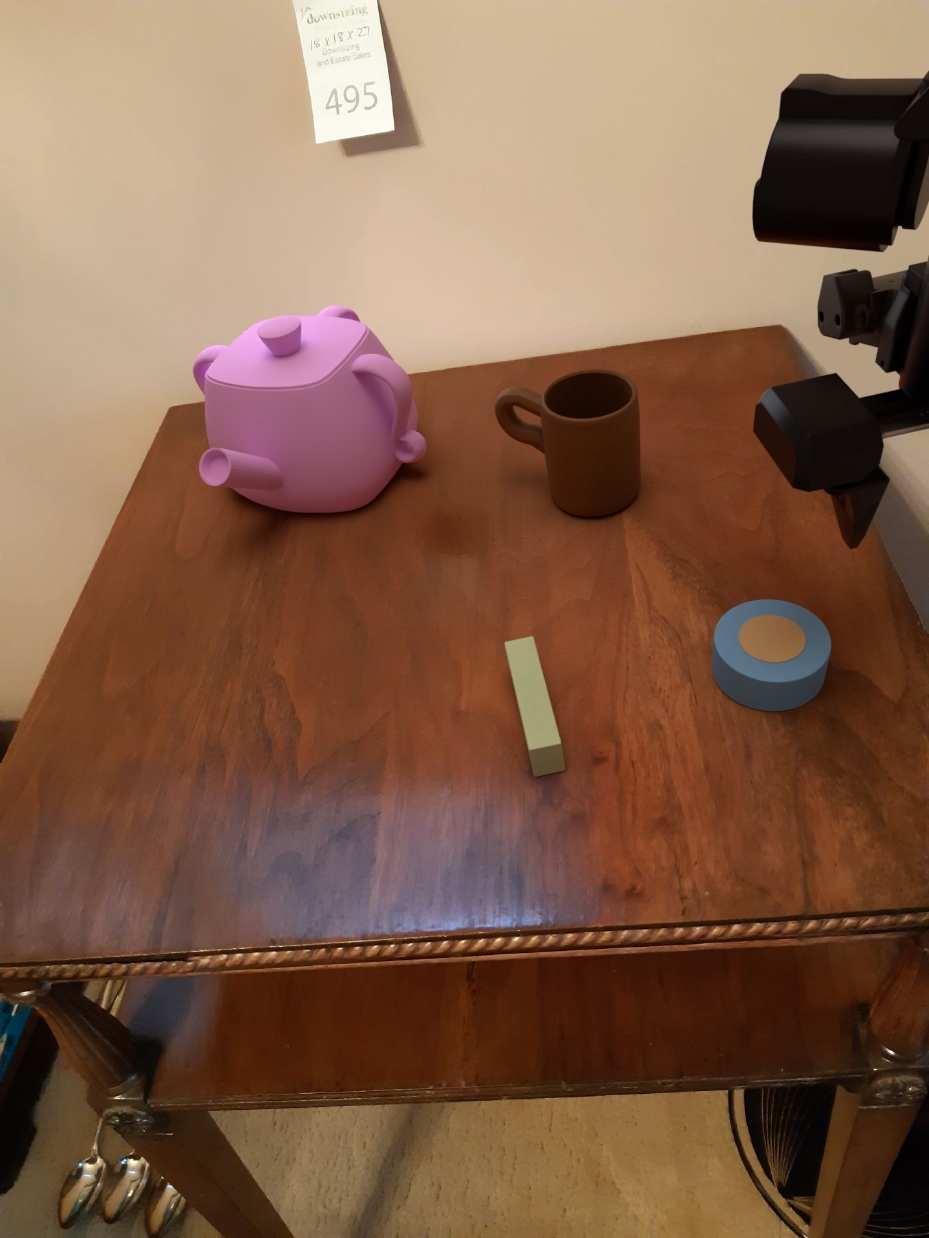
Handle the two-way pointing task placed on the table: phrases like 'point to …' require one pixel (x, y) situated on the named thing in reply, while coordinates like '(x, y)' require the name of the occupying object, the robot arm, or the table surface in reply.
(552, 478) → the mug
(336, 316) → the teapot
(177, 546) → the table surface
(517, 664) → the stop block
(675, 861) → the table surface
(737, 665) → the tape roll
